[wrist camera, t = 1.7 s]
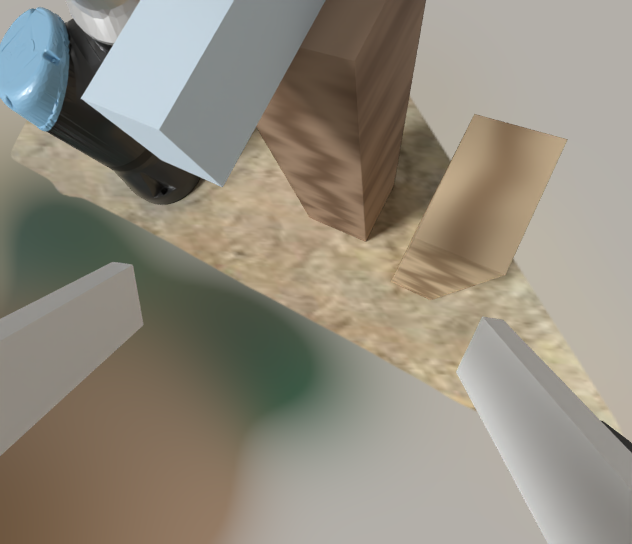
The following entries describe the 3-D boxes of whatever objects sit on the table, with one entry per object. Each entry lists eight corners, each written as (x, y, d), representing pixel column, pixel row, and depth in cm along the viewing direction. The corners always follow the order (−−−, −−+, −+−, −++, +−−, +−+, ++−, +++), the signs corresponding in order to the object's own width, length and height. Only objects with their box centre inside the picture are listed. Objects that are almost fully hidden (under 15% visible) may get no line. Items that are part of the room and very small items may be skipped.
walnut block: (309, 217, 44) (193, 20, 15) (337, 164, 45) (276, -121, 16) (365, 241, 42) (354, 61, 13) (393, 185, 42) (444, -109, 13)
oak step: (390, 281, 40) (414, 237, 19) (419, 222, 40) (474, 114, 19) (430, 300, 38) (505, 274, 17) (460, 238, 39) (567, 139, 18)
